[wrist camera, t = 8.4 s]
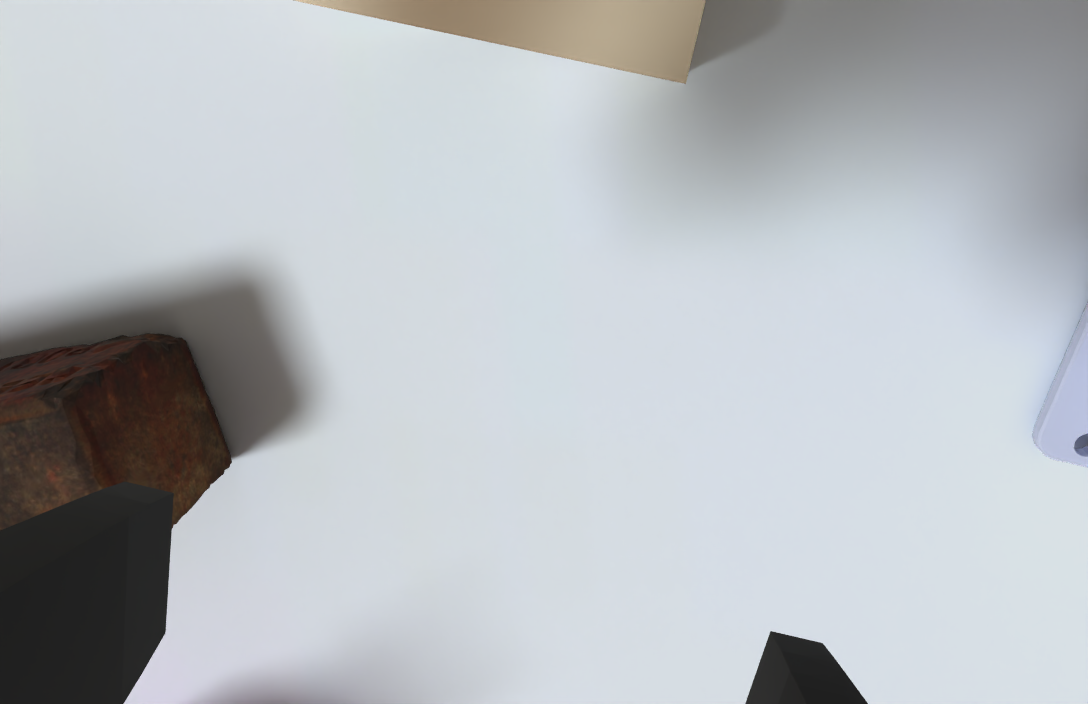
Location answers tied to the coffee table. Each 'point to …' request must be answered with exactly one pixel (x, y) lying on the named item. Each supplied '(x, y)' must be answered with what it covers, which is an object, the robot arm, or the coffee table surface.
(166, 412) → the brick
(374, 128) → the coffee table surface
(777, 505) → the coffee table surface
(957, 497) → the coffee table surface
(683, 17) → the oak base
